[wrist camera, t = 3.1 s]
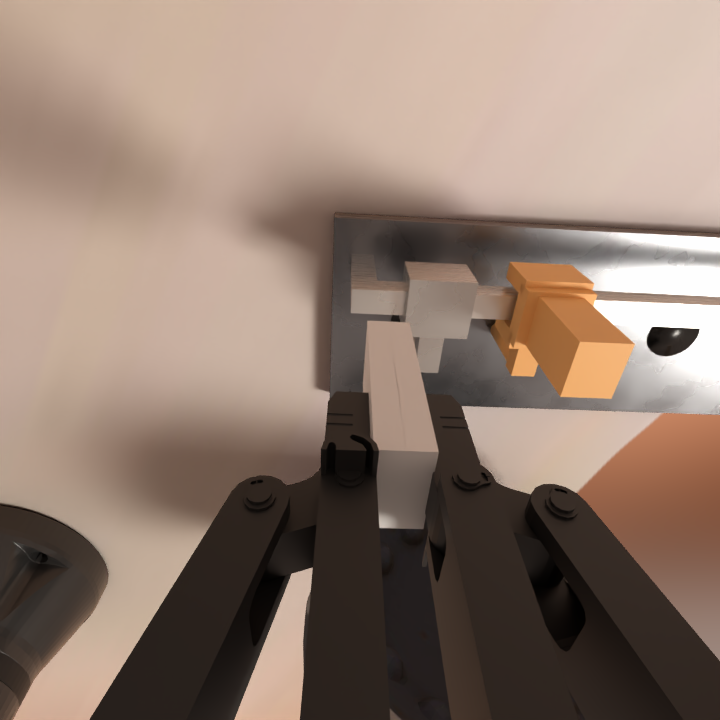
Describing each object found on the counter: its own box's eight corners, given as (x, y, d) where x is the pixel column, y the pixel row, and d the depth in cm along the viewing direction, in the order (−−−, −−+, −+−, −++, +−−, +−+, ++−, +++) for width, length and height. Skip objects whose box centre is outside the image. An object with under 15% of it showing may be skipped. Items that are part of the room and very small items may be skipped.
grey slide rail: (348, 321, 28) (347, 380, 22) (352, 233, 25) (352, 277, 19) (750, 338, 29) (846, 398, 23) (797, 257, 26) (920, 303, 20)
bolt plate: (330, 392, 31) (329, 402, 30) (334, 212, 24) (334, 218, 23) (724, 406, 32) (735, 416, 31) (824, 239, 26) (843, 244, 25)
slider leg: (472, 335, 27) (528, 451, 18) (492, 242, 24) (570, 328, 15) (521, 337, 27) (599, 453, 19) (547, 245, 24) (654, 332, 16)
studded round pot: (319, 452, 33) (286, 833, 16) (575, 470, 35) (790, 837, 18) (311, 544, 39) (281, 899, 22) (532, 555, 40) (665, 898, 23)
